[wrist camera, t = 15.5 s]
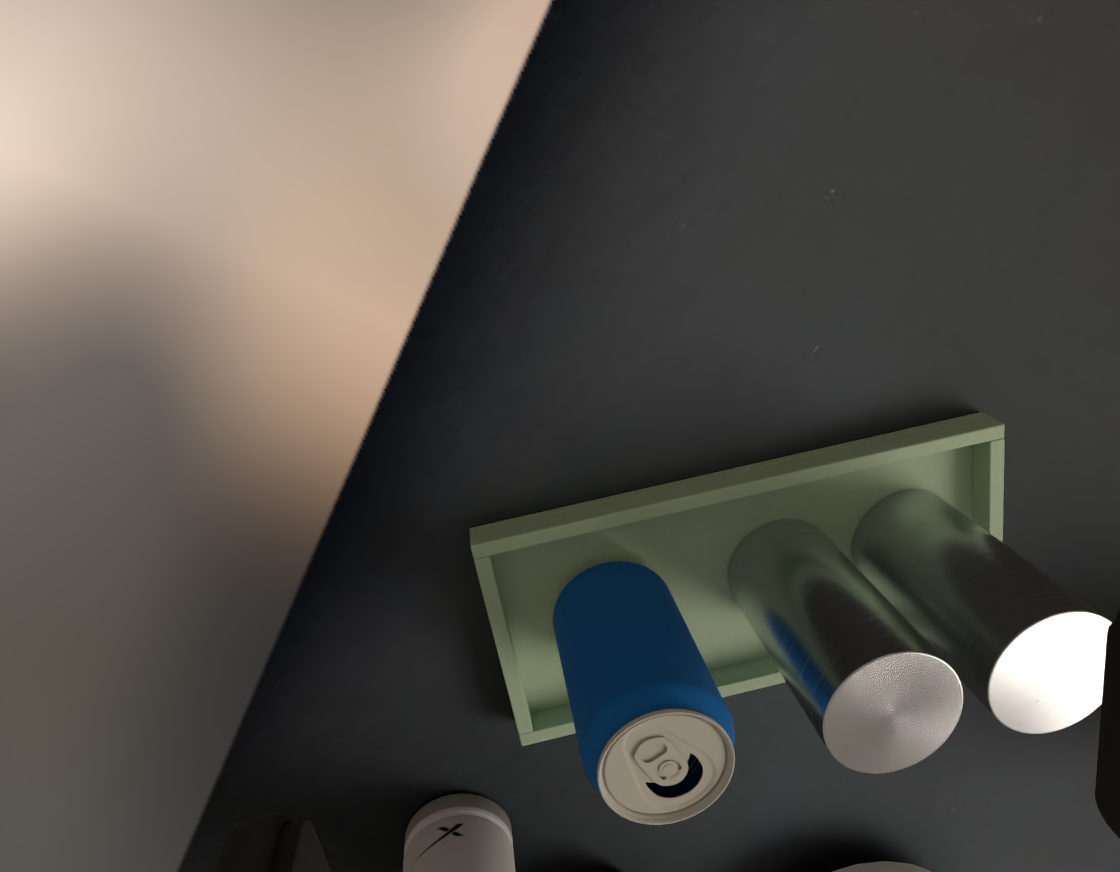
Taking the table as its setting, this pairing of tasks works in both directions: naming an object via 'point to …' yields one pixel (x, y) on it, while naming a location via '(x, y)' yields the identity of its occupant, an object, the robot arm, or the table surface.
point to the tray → (711, 547)
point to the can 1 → (844, 649)
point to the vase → (883, 867)
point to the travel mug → (459, 837)
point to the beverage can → (641, 696)
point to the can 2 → (986, 611)
